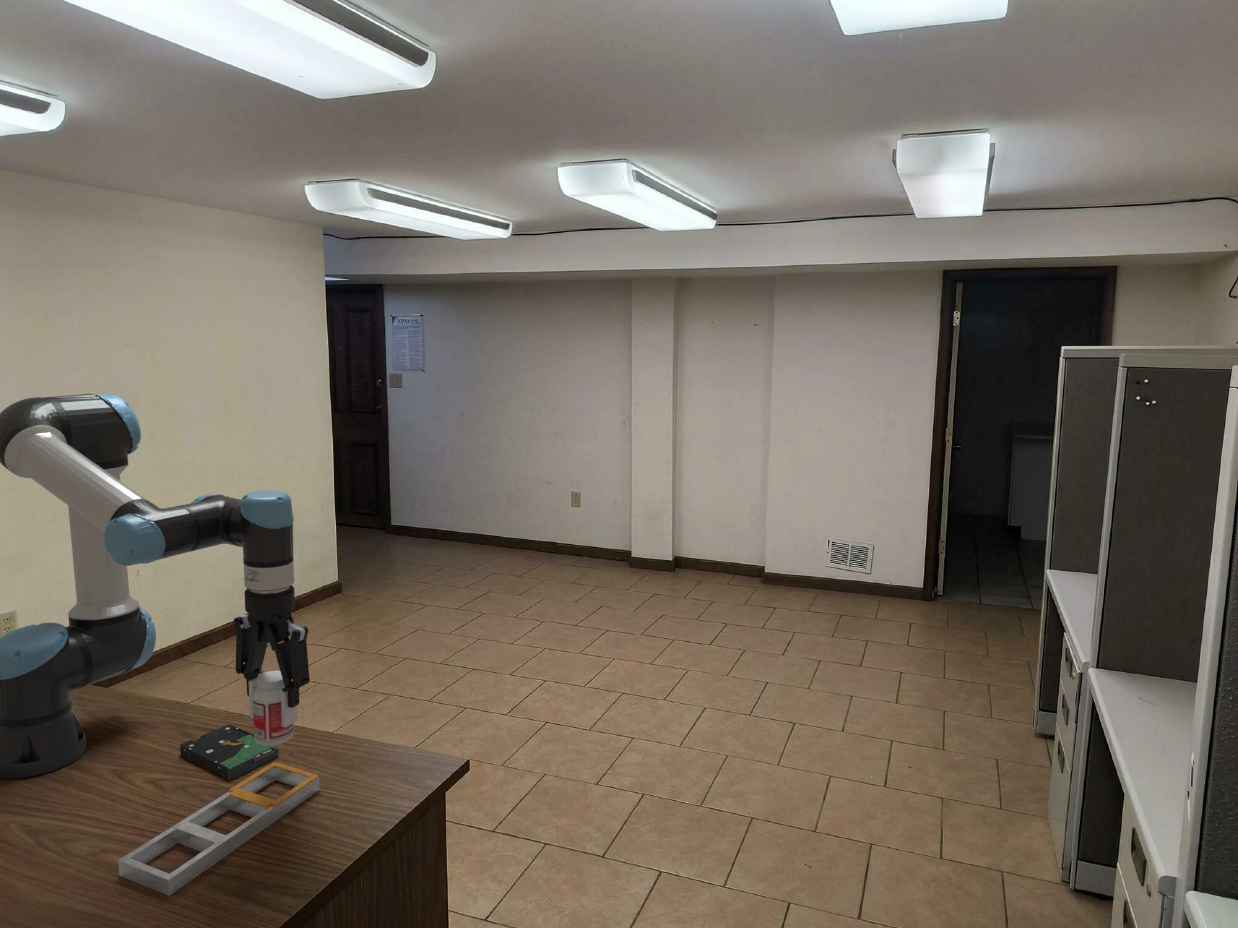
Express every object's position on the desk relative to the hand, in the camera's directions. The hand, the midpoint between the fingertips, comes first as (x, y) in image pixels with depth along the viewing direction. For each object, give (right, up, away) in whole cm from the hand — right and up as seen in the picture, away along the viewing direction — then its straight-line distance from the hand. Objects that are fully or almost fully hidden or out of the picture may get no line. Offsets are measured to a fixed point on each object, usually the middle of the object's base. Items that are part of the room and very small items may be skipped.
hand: (273, 718), depth 141 cm
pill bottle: (0, -4, +1) cm, 4 cm away
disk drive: (-14, -12, +15) cm, 24 cm away
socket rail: (-4, -16, -7) cm, 18 cm away
